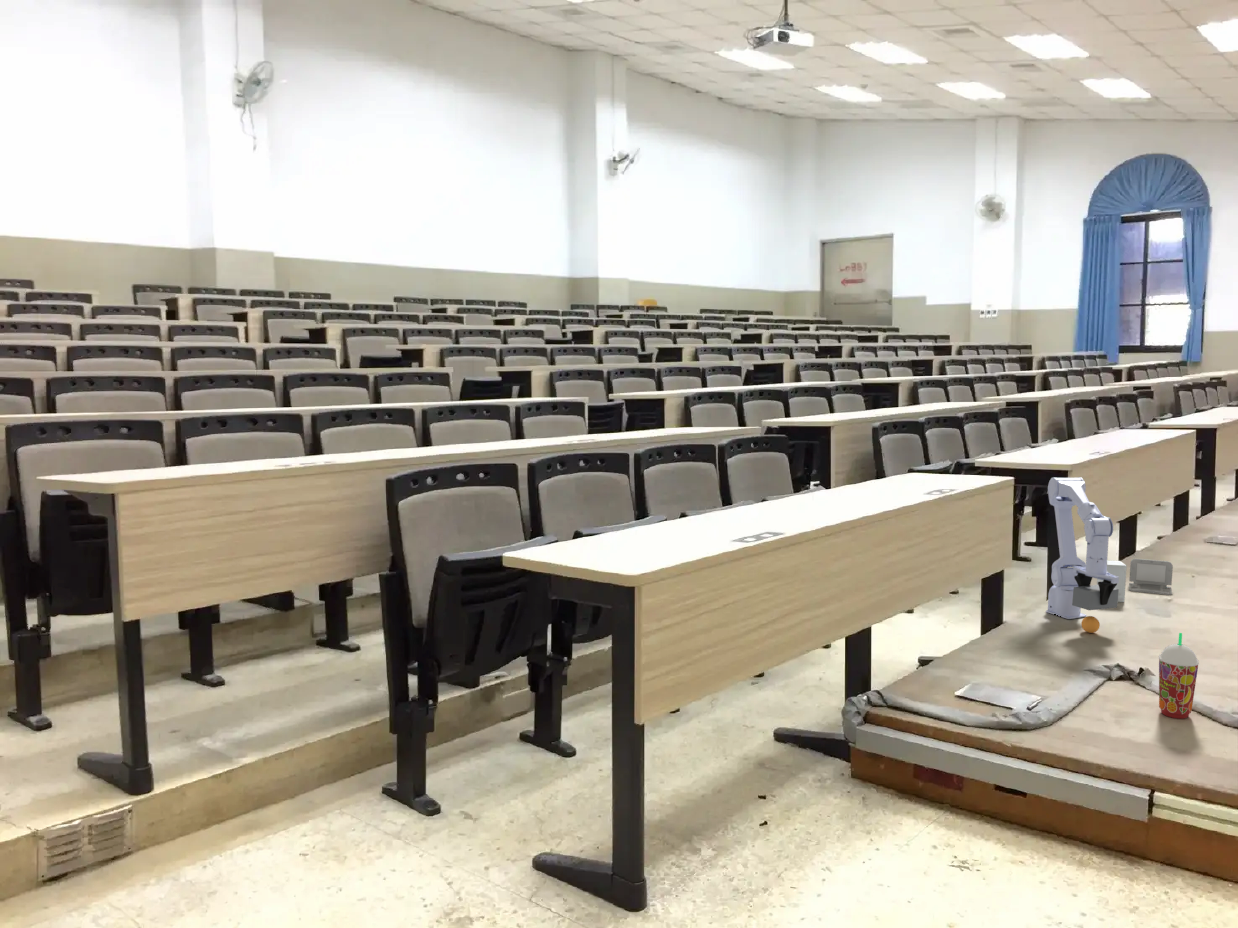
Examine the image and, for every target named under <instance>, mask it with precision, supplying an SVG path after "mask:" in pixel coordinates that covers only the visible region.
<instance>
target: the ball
mask: <svg viewBox="0 0 1238 928" xmlns="http://www.w3.org/2000/svg"><path fill="white" fill-rule="evenodd" d="M1080 625H1081V628H1082V629H1083V631H1085V632H1086V633H1090V634H1094V633H1096V632H1097V631H1099V629H1100V625H1101V624H1100V621H1099V620H1098V618H1096V617H1095V616H1091V615H1087V616H1086V617H1083V618H1082V620H1081V623H1080Z"/></svg>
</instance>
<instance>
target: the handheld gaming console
mask: <svg viewBox="0 0 1238 928" xmlns="http://www.w3.org/2000/svg"><path fill="white" fill-rule="evenodd" d="M1129 565H1130V566H1129V579H1128V580H1129V582H1128V591H1130V592H1135V593H1137V592H1138V593H1147V594H1153V595H1155V594H1157V595H1166V596H1170V595H1172V594H1173V591H1172V584H1173V583H1172V582H1173V568H1174V566H1173V563H1172V562H1171V561H1169V560H1167V561H1166V560H1159V559H1158V560H1156V559H1145V558H1132V559H1131V561H1130V564H1129Z"/></svg>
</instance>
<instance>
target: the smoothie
mask: <svg viewBox="0 0 1238 928" xmlns="http://www.w3.org/2000/svg"><path fill="white" fill-rule="evenodd" d="M1182 641H1183V633H1182V632H1179V633H1178V643H1173V644H1169V645H1168V646H1166V647H1165V648H1164V649H1163V650H1162V652H1161V653H1160V654H1159V656H1158V707H1159V709H1160V711H1161V712H1160V713H1161V714H1162V715H1164V716H1166V717H1168V718H1171V719H1177V720H1178V719H1179V720H1180V719H1182V720H1184V719H1187V718H1189V715H1190V714H1191V713H1192V710H1193V704H1194V697H1195V689H1196V684H1197V675H1198V669H1199V665H1200V661H1199V660H1198V657H1197V654H1196V653H1195V651H1193V649H1192V648H1190V647H1189V646H1187V645H1185V644H1182V643H1183V642H1182Z"/></svg>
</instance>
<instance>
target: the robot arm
mask: <svg viewBox="0 0 1238 928" xmlns="http://www.w3.org/2000/svg"><path fill="white" fill-rule="evenodd" d="M1047 485H1048V486H1047V494H1048V501H1049V504H1050V506H1053V508H1054V515H1055V523H1056V533H1057V540H1058V548H1059V549H1058V551H1059V557H1058V559H1056V560H1055V561H1054V562H1053V563H1052V565H1051V577H1050V578H1051V582H1052V584H1053V585H1052V586H1051V587H1050V588H1049V591H1048V597H1047V598H1048V599H1047V610H1045V612H1046V613H1047V614H1051V615H1054V614H1056V615H1055V616H1057V615H1058V617H1060V616H1061V617H1060V618H1062V619H1063V618H1064V619H1067V620H1073V619H1078V618H1085V617H1087V616H1088V615H1087V614H1086V613H1085V614H1084V613H1082V612H1081V610H1082V608H1080V607H1076V606H1073V605H1072V601H1073V590H1074V587H1079V586H1090V585H1091V582H1092V580H1093V579H1096V580H1097V579H1100V580H1103V581H1102V582H1098V585H1099V589H1100V605H1106V604H1107V603H1108V600H1109V597H1110V595H1111V593H1112V591H1113V589H1114V588H1115V586H1116V585H1117V583H1119V577H1118V576H1115V575H1112V574H1110V573H1108V571H1107V560H1108V554H1109V537H1110V538H1111V536H1112V535H1113V533H1114V524H1113V521H1112V519H1111V517H1109V516H1105V515H1103V514H1102V512H1101V511H1100V509H1099V508H1098V505H1096V504H1095V502H1092V501H1090V500H1089V498H1088V496H1087V494H1086V491H1087V490H1086V482H1085V480H1084V479H1083V477H1054V476H1053V477H1051V478H1050V480H1049V482H1048V484H1047ZM1074 506H1076V507H1077V510H1076V511H1077V515H1078V517H1079V518H1080V520H1081V521H1082V522H1083V524H1084V525H1083V529H1084V534H1085V542H1086V544H1087V545H1086V556H1085V557H1086V558H1085V561H1084V560H1082V559H1081V558H1079V557H1078V555H1077V553H1078V552H1077V545H1076V538H1075V537H1076V536H1075V529H1074V521H1073V511H1072V509H1073V507H1074Z"/></svg>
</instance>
